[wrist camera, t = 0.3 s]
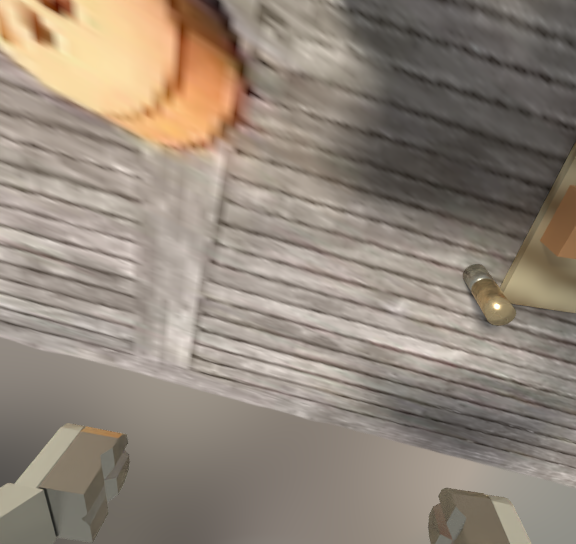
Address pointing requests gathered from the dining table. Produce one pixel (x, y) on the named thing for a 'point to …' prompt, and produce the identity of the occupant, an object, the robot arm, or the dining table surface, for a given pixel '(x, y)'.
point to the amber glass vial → (488, 295)
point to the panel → (544, 257)
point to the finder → (563, 227)
